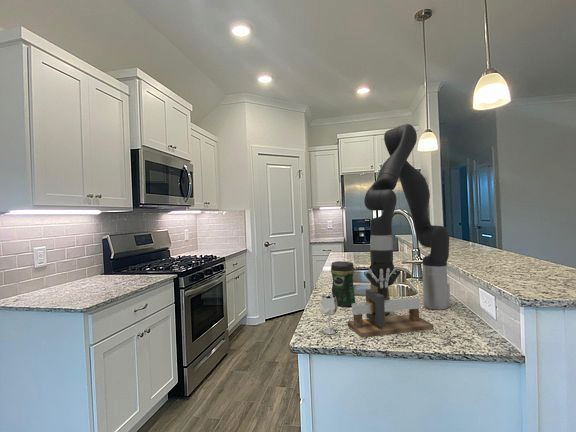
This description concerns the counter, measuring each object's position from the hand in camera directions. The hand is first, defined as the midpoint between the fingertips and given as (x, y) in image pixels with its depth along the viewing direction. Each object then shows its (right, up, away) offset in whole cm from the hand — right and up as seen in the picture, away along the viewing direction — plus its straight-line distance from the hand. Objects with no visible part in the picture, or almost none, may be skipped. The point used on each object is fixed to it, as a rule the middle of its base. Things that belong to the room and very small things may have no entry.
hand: (382, 298), depth 119 cm
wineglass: (-18, -11, -1) cm, 22 cm away
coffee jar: (-9, -10, +30) cm, 33 cm away
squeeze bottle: (+3, -10, +16) cm, 19 cm away
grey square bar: (+1, -4, 0) cm, 5 cm away
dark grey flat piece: (-3, -8, 0) cm, 8 cm away
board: (+3, -10, +1) cm, 11 cm away
